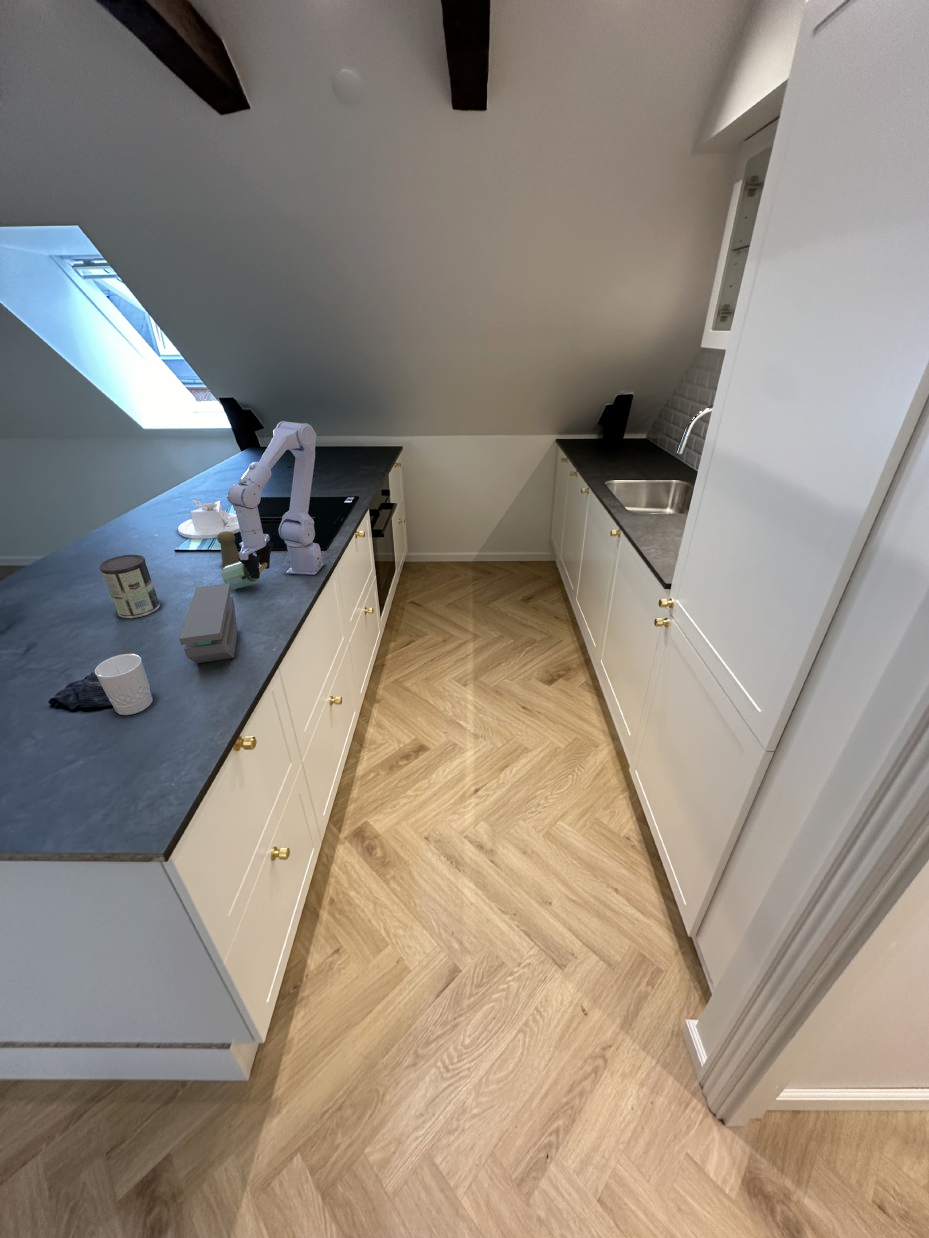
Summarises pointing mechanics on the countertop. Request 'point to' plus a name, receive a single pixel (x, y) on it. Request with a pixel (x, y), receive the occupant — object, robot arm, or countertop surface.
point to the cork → (228, 548)
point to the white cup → (125, 683)
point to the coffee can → (130, 585)
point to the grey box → (210, 625)
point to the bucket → (239, 575)
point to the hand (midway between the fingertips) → (260, 573)
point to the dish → (208, 522)
